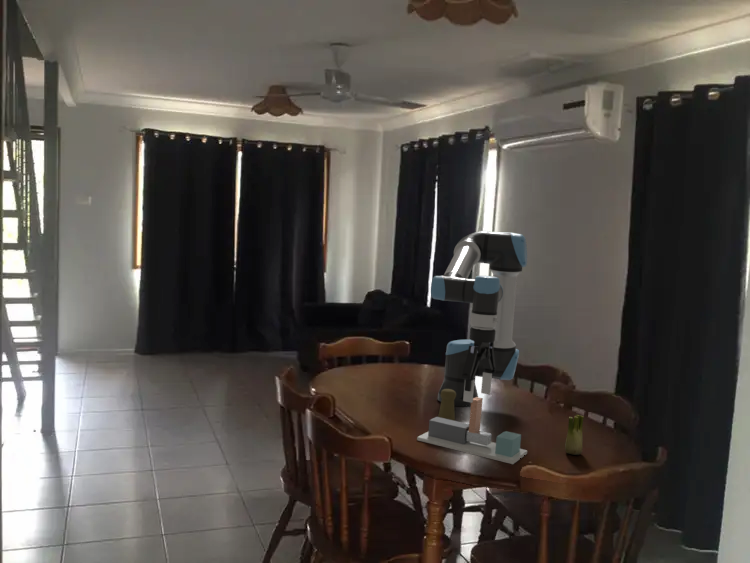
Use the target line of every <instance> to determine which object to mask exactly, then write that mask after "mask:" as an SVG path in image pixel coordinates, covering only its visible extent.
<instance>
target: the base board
mask: <svg viewBox="0 0 750 563" xmlns="http://www.w3.org/2000/svg"><path fill="white" fill-rule="evenodd" d="M428 432H429V430H428V431H427V432H424V433H423V434H420V435H419V436H417V437H416V440H417V441H419V442H423V443H427V444H431V445H434V446H440V447H443V448H447V449H451V450H454V451H455V450H456V451H458V452H463V453H467V454H470V455H473V456H474V455H475V456H479V457H483V458H487V459H489V460H490V459H491V460H495V461H499V462H503V463H507V464H511V465H514V464H515V463H517V462H518V461H520V460H521V459H522V458H524V457H525V456H526V455H527V454H528V450H526V449H523V448H520V452H518V453H517V454H515V455H514V456H513V457H508V456H504V455H500V454H496V453H495V450H496V442H493V441H491V443H490V444H489V445H487V446H486V445H482V444H478V443H474V442H467V443H465V444H460V443H456V442H451V441H447V440H443V439H439V438H435V437H431V436H428ZM524 455H525V456H524ZM520 458H521V459H520Z"/></svg>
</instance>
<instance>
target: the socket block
mask: <svg viewBox="0 0 750 563" xmlns="http://www.w3.org/2000/svg"><path fill="white" fill-rule="evenodd" d="M521 442H522V434H520V433H517V432H512V431H507V430H506V431H503V432H502V433H500V434H498V435H497V436H496V439H495V443H496V450H495V453H496V454H500V455H504V456H508V457H513V456H514V455H515V454H517V453H518V452H520V449H521Z"/></svg>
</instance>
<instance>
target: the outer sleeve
mask: <svg viewBox="0 0 750 563" xmlns="http://www.w3.org/2000/svg"><path fill="white" fill-rule="evenodd" d="M428 421H429V422H428V431H429V432H428V431H427V432H428V436H431V437H435V438H439V439H443V440H447V441H451V442H456V443H460V444H465V443H467V442H469V441H465V433H466V429H468V428H469V423H466V422H462V421H457V420H455V421H453V420H449V419H445V418H440V417H438V416H435V417H433V418H431V419H429V420H428Z"/></svg>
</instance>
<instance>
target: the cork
mask: <svg viewBox="0 0 750 563" xmlns="http://www.w3.org/2000/svg"><path fill="white" fill-rule="evenodd" d="M455 397H456V392H455V391H454V390H452V389H443V390H442V391H441V398H442V401H441V402H440V407H439V410H438V416H437V417H440V418H445V419H449V420H453V421H456V416H455V406H454V399H455Z"/></svg>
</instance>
